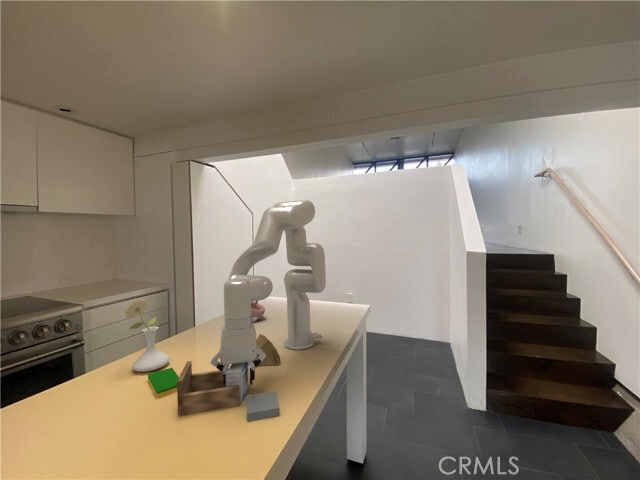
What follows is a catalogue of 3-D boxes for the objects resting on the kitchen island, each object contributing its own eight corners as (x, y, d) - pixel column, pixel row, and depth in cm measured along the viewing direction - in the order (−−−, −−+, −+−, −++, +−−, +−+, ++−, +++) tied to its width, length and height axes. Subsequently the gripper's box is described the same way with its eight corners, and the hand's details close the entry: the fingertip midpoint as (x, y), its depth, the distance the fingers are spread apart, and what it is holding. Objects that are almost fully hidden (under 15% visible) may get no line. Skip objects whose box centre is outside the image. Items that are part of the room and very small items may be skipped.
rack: (240, 383, 86) (240, 354, 86) (239, 405, 74) (238, 372, 74) (188, 391, 82) (187, 361, 82) (178, 416, 71) (176, 381, 70)
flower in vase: (164, 357, 106) (162, 292, 105) (174, 366, 98) (171, 296, 97) (123, 369, 97) (120, 298, 96) (130, 381, 89) (127, 304, 88)
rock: (288, 354, 101) (269, 344, 107) (279, 341, 96) (260, 331, 102) (269, 381, 94) (250, 369, 100) (259, 368, 90) (240, 357, 95)
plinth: (276, 397, 78) (276, 390, 78) (279, 415, 70) (279, 407, 70) (247, 402, 76) (247, 395, 76) (247, 421, 68) (246, 413, 68)
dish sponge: (172, 374, 93) (172, 367, 93) (183, 390, 83) (183, 382, 83) (147, 381, 89) (147, 374, 89) (156, 400, 78) (156, 392, 78)
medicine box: (242, 403, 76) (241, 371, 75) (225, 403, 75) (225, 372, 75) (249, 387, 83) (248, 358, 83) (234, 387, 83) (234, 359, 83)
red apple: (262, 323, 144) (262, 301, 144) (239, 323, 144) (239, 302, 144) (267, 316, 156) (266, 296, 156) (246, 317, 156) (245, 297, 156)
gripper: (267, 316, 85) (269, 373, 86) (208, 321, 81) (210, 381, 81) (269, 323, 78) (270, 386, 78) (204, 329, 74) (205, 395, 74)
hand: (239, 383), depth 80 cm, fingers open, 6 cm apart
